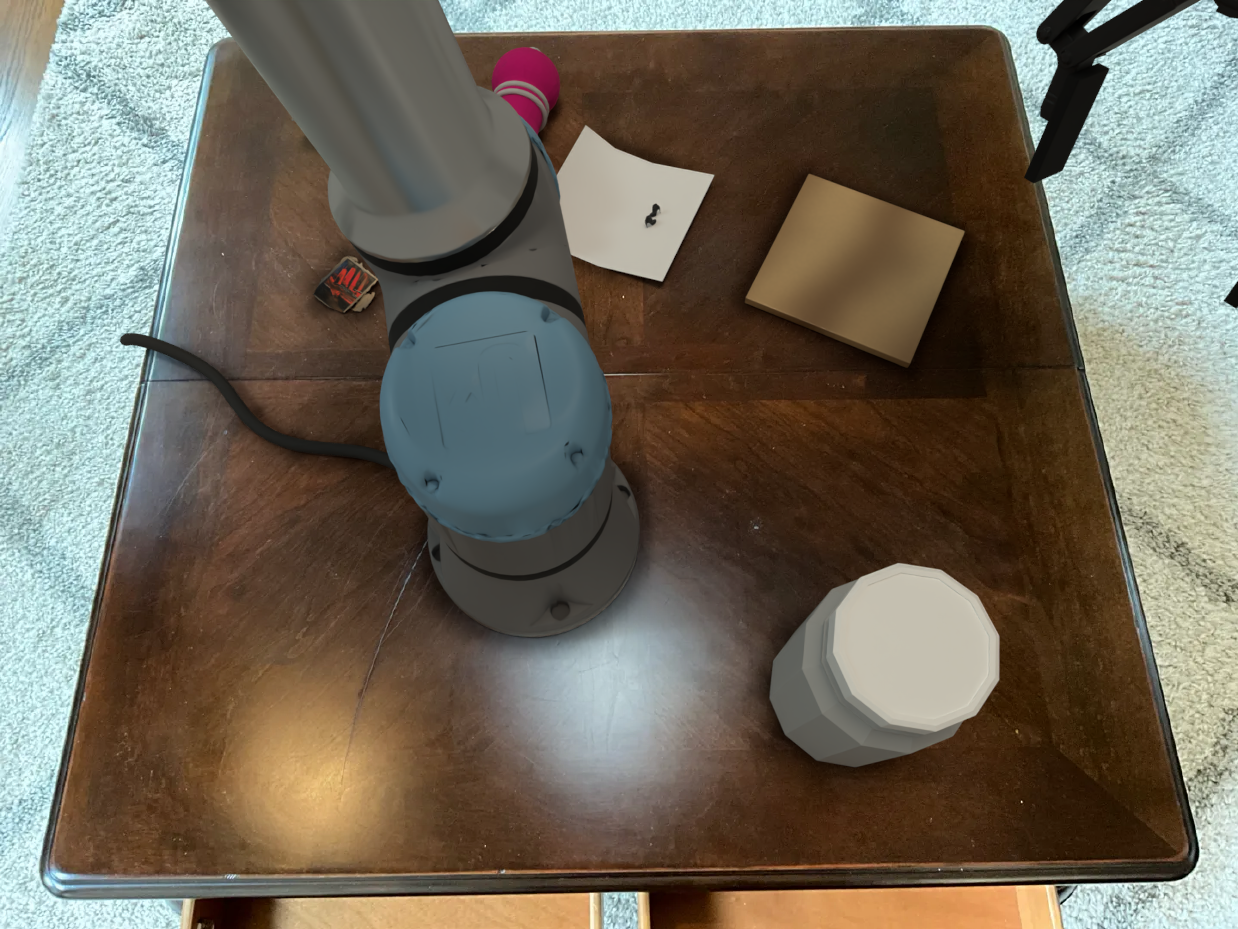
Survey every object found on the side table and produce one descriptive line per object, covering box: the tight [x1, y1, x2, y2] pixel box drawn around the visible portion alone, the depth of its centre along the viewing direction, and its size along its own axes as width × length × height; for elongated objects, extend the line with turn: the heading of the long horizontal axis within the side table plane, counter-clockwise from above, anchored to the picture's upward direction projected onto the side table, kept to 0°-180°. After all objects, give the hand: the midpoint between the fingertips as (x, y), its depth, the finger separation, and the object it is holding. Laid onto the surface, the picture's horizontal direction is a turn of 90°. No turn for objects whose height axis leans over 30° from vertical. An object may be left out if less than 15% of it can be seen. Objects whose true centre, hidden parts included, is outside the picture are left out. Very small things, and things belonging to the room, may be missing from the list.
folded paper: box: [556, 124, 715, 282], centre depth 75 cm, size 12×12×2 cm
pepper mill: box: [490, 46, 561, 136], centre depth 75 cm, size 7×7×20 cm
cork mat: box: [744, 173, 966, 369], centre depth 73 cm, size 14×14×1 cm
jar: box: [769, 562, 1000, 768], centre depth 52 cm, size 10×10×18 cm
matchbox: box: [312, 254, 379, 313], centre depth 73 cm, size 5×5×1 cm
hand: (1136, 231), depth 51 cm, fingers open, 13 cm apart
